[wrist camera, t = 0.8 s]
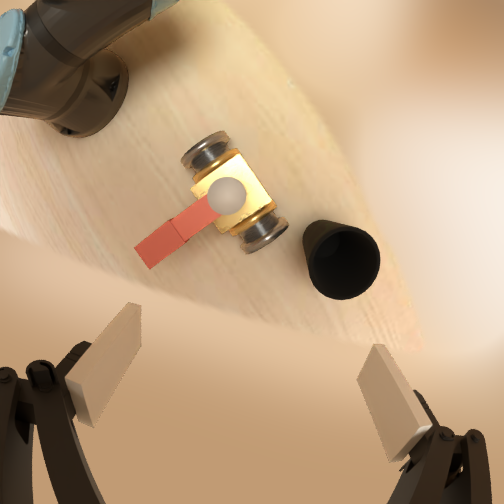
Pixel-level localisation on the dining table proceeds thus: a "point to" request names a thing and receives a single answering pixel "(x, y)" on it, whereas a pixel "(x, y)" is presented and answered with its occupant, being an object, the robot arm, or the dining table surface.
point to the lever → (193, 220)
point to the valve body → (257, 200)
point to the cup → (340, 259)
